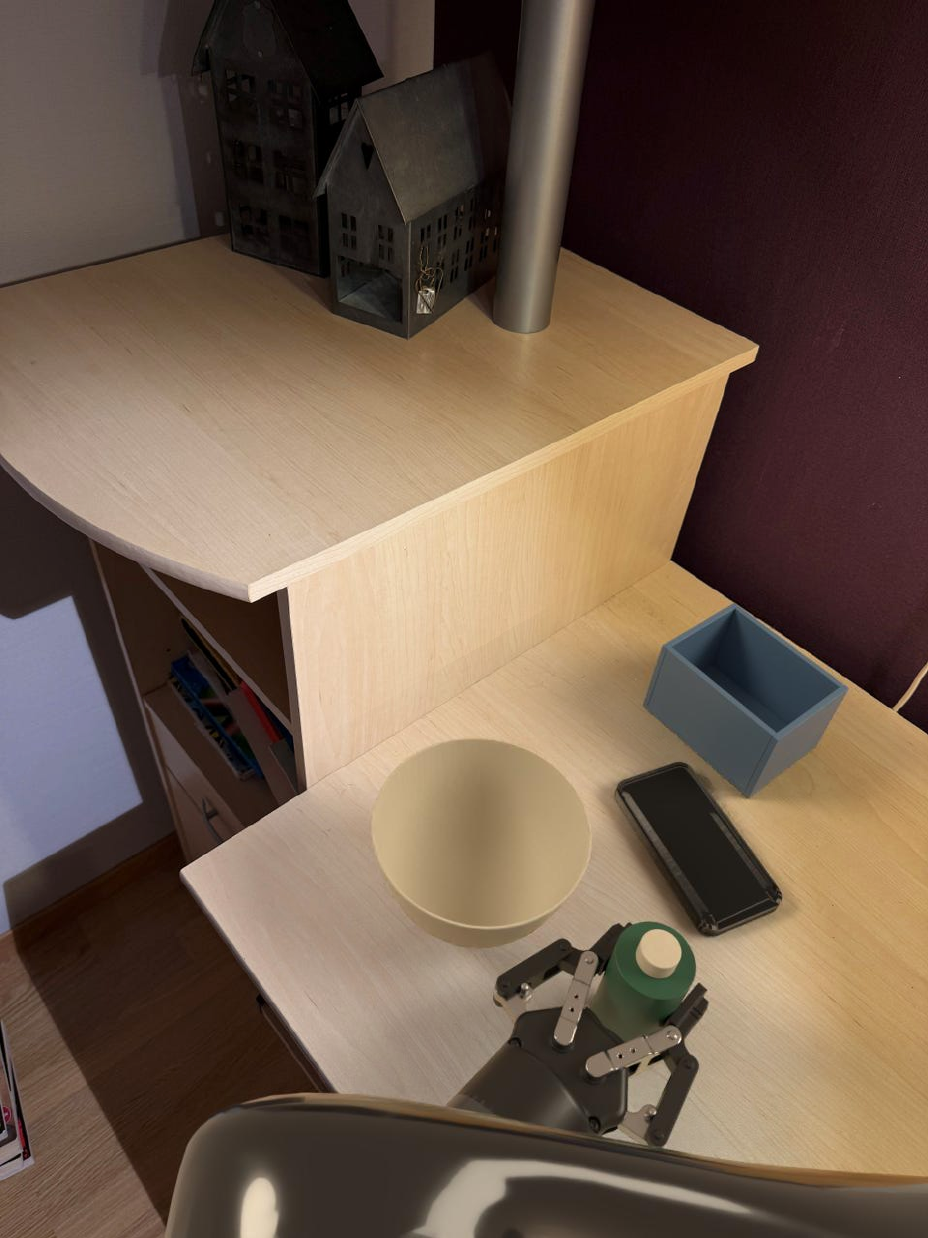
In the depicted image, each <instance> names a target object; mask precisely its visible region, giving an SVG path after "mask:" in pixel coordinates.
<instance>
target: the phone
mask: <svg viewBox="0 0 928 1238" xmlns="http://www.w3.org/2000/svg"><path fill="white" fill-rule="evenodd" d="M614 799H615V802H616V803H617V805H618V807H619V808H620V810H621V811H622V812H623V815H624V816H625V817H626V819H627V821H628V822H629V824H630V826H631V827H632V829H633V830H634V832H635V833H636V835H637V837H638V838H639V839H640V841H641V842H642V844H643V845H644V847H645V849H646V851H647V852H648V854H649V856H650V857H651V858H652V860H653V861H654V863H655V865H656V866H657V868H658V870H659V871H660V873H661V874H662V876H663V877H664V879H665V880H666V883H668V885H669V887H670V888H671V890H672V891H673V893H674V894H675V896H676V898H677V899H678V901H679V902H680V904H681V906H682V908H683V909H684V911H685V912H686V914H687V915H688V917H689V918H690V920H691V921H692V923H693V924H694V926H695V928H696V929H697V930H698V931H699V932H700V933H701V934H702V935H704V936H706V937H711V938H713V937H718V936H720V935H723V934H725V933H727V932H729V931H733V930H734V929H737V928H739V927H742V926H744V925H746V924H749V923H752V922H753V921H756V920H758V919H761V918H763V917H765V916H767V915H770V914H773V913H774V912H776V911H777V909H778V908H779V906H780V905H781V903H782V901H783V897H784V896H783V892H782V890H781V888H780V887H779V886H778V884H777V883H776V882H775V880H774V878H772V876H771V875H770V873H769V872H768V871H767V869H766V868H765V866H764V865H763V863H762V862H761V860H759V858H758V857H757V855H756V854H755V853H754V851H753V850H752V849H751V847H750V846H749V844H748V843H747V842H746V840H745V839H744V837H743V836H742V834H741V833H740V832H739V830H738V829H737V828H736V826H735V825H734V824H733V822H732V821H731V820H730V818H729V817H728V815H727V814H726V813H725V811H724V810H723V808H722V807H721V806H720V805H719V803H718V802H717V800H716V798H714V796H713V795H712V793H711V792H710V791H709V789H708V788H707V786H706V785H705V783H704V782H703V781H702V779H701V778H700V776H699V775H698V774H697V773H696V771H695V769H694V768H693V767H692V766H691V765H690V764H688V763H686V762H683V761H675V762H671V763H669V764H666V765H663V766H660V767H657V768H654V769H651V770H649V771H645V772H642V773H639V774H637V775H633V776H631V777H630V776H629V777H628V778H627V777H626V778H624V779H622V780H620V781H619V782H618V783H617V786H616V789H615V792H614Z"/></svg>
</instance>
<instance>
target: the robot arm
mask: <svg viewBox="0 0 928 1238" xmlns="http://www.w3.org/2000/svg"><path fill="white" fill-rule="evenodd" d="M633 924H634V923H632V922H631V921H628V922H627V923H626V924H625V925H622V924H621V923H620V922H617V923H614V924H613V925H611V926H610V927H609V929H607V931H605V932H604V934H603V935H602V936H601V937H600V938H598V940H597V941H596V942H595V943H594V944H593V945H592V946H591V947H590V948H588V949H585V950H584V949H583V950H582V949H578V948H577V947H574V946H573V945H572V943H571V942H570V941H569V940H568V939H566V938H562V937H561V938H559V939H557V940H554V941H553V942H552V943H550V944H549V945H547V946H546V947H544V948H542V949H540V950H539V951H537V952H535V953H534V954H532V955H531V956H529V957H528V958H526V959H524V960H522V961H521V962H520V963H518V964H516V965H515V966H513V967H511V968H510V969H508V970H506V971H504V972H503V973H502V974H499V975H498V977H497V979H496V981H495V985H494V988H493V993H492V994H493V995H492V1001H493V1004H494V1005H495V1006H496V1007H498V1008H501V1009H502V1008H503V1009H504V1011H505V1013H507V1015H508V1017H509V1018H510V1020H511V1021H512V1023H513V1024H514V1025H513V1029H512V1032H511V1035H510V1037H509V1038H507V1039H508V1040H506V1041H505V1043H504V1044H502V1046H501V1047H500V1048H499V1049H498V1050H496V1052H495V1053H494V1054H493V1055H492V1056H491V1057H490V1059H489V1060H487V1062H486V1063H484V1065H483V1066H482V1067H481V1068H480V1069H479V1070H478V1071H477V1072H476V1073H475V1074H474V1075H473V1076H472V1077H471V1078H470V1079H469V1080H468V1082H466V1083H465V1085H464V1086H463V1087H462V1088H461V1089H460V1090H459V1091H458V1092H457V1093H456V1094H455V1095H454V1096H453V1097H452V1098H451V1099H450V1100H449V1101H448V1102H447V1103H446V1105H438V1104H433V1103H426V1102H421V1101H415V1100H408V1099H402V1098H395V1097H387V1096H377V1095H370V1094H358V1093H332V1092H297V1093H284V1094H272V1095H266V1096H262V1097H256V1098H253V1099H247V1100H243V1101H240V1102H237V1103H234V1104H231V1105H229V1106H226V1107H224V1108H223V1109H221V1110H219V1111H217V1112H216V1113H214V1114H213V1115H212V1116H210V1117H209V1118H208V1119H206V1121H204V1122H203V1123H202V1124H200V1125H199V1126H198V1127H197V1129H196V1130H195V1131H194V1133H193V1134H191V1137H190V1138H189V1140H188V1142H187V1145H186V1146H185V1150H184V1153H183V1155H182V1160H181V1162H180V1165H179V1168H178V1169H179V1170H178V1173H177V1176H176V1181H175V1184H174V1189H173V1193H172V1198H171V1203H170V1208H169V1213H168V1218H167V1223H166V1228H165V1232H164V1233H165V1234H164V1237H163V1238H928V1176H926V1175H925V1176H924V1175H909V1174H896V1173H895V1174H894V1173H878V1172H877V1173H876V1172H862V1171H849V1170H848V1171H847V1170H835V1169H821V1168H810V1167H799V1166H798V1167H796V1166H785V1165H774V1164H766V1163H758V1162H749V1161H741V1160H732V1159H727V1158H720V1157H713V1156H707V1155H702V1154H695V1153H691V1152H685V1151H680V1150H675V1149H669V1148H664V1147H665V1146H666V1144H667V1143H668V1142H669V1139H670V1137H671V1134H672V1132H673V1131H674V1127H675V1125H676V1123H677V1120H678V1118H679V1116H680V1113H681V1112H682V1109H683V1106H684V1104H685V1102H686V1100H687V1097H688V1095H689V1092H690V1091H691V1088H692V1086H693V1084H694V1082H695V1079H696V1076H697V1074H698V1072H699V1070H700V1062H699V1061H698V1059H697V1058H696V1056H694V1055H693V1054H691V1053H690V1051H689V1049H688V1048H687V1047H686V1038H687V1037H688V1036H689V1034H690V1033H691V1031H693V1029H694V1028H695V1027H696V1026H697V1024H698V1023H699V1022H700V1021H701V1020H702V1018H703V1017H704V1015H705V1014H706V1012H707V1010H708V1007H709V1000H708V999H707V998H705V995H706V993H707V992H708V989H707V987H705V986H704V985H703V984H702V983H700V982H697V984H696V985H695V986H694V987H693V988H692V990H690V992H689V993H687V994H688V995H686V996H685V998H684V999H683V1001H682V1003H681V1004H680V1006H679V1007H678V1008H677V1009H676V1010H675V1011H674V1012H673V1014H672V1015H671V1016H670V1017H669V1018H668V1020H667V1022H666V1023H665V1025H664V1027H663V1028H662V1029H659V1030H657V1031H655V1032H653V1033H650V1034H648V1035H646V1036H644V1035H641V1036H639V1037H636V1038H634V1039H632V1040H630V1041H627V1042H624V1041H623V1040H622V1039H621V1038H620V1037H619V1036H618V1035H617V1034H616V1033H614V1032H612V1031H611V1030H609V1029H607V1028H606V1027H604V1026H603V1025H602V1023H601V1022H600V1020H599V1019H598V1017H597V1016H596V1014H595V1013H594V1012H592V1011H591V1010H590V1009H589V1008H590V1007H588V1006H585V1004H586V1001H587V998H588V996H589V992H590V990H591V986H592V983H593V980H594V978H595V977H596V975H597V976H599V977H601V976H603V974H604V972H605V969H606V967H607V965H608V962H609V960H610V957H611V955H612V953H613V950H614V948H615V945H616V943H617V941H618V938H619V937H620V935H621V934H622V932H623V931H624V930H625V929H626V928H628V927H629V926H631V925H633ZM561 972H564V973H566V974H568V975H571V976H573V977H572V979H571V983H570V986H569V988H568V991H567V994H566V997H565V1000H564V1002H563V1005H562V1006H561V1005H560V1006H554V1007H547V1008H540V1009H533V1010H528V1009H527V1005H528V1004H529V1003H530V1002H531V999H532V996H533V991H534V990H535V989H536V988H539V987H540V986H541V985H542V984H544V983H546V982H547V981H549V980H550V979H552V978H554V977H556V976H557V975H558V974H560V973H561ZM662 1062H663V1063H664V1065H665V1066H666V1068H667V1069H668V1071H669V1073H670V1075H669V1077H668V1079H667V1081H666V1083H665V1085H664V1088H663V1090H662V1092H661V1095H660V1097H659V1099H658V1100H657V1103H656V1106H655V1105H653V1104H650V1103H647V1104H644V1105H643V1106H642V1107H641V1108H640V1110H638V1111H636V1112H631V1111H629V1110H628V1109H629V1108H628V1107H629V1080H630V1079H632V1078H634V1077H637V1076H639V1075H641V1074H642V1073H643V1072H645V1071H646V1070H647V1069H650V1068H652V1067H654V1066H656V1065H658V1064H660V1063H662ZM617 1130H619V1131H620V1132H621V1133H623V1134H625V1135H626V1136H628V1138H630V1139H632V1140H633V1141H635V1142H632V1141H627V1140H622V1139H618V1138H613V1137H607V1136H604V1135H606V1134H609V1133H613V1132H616V1131H617Z"/></svg>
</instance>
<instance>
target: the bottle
mask: <svg viewBox="0 0 928 1238" xmlns="http://www.w3.org/2000/svg"><path fill="white" fill-rule="evenodd" d="M632 924H633V925H631V926H629V927H628V928H626V929H625V930H624V931H623V932H622V934H621V935H620V937H619V938H618V941H617V943H616V945H615V948H614V950H613V953H612V955H611V957H610V960H609V962H608V965H607V967H606V969H605V971H604V972H603V974H602V977H601V979H600V982H599V984H598V986H597V989H596V991H595V993H594V995H593V999H592V1001H591V1003H590V1005H589V1007H588V1008H589V1009H590V1010H591V1011H592V1012H594V1013H595V1014H596V1016H597V1017H598V1019H599V1020H600V1022H601V1023H602V1025H603V1026H604V1027H606V1028H607V1029H609V1030H611V1031H612V1032H614V1033H616V1034H617V1035H618V1036H619V1037H620V1038H621V1039H622V1040H623V1041H624V1042H627V1041H630V1040H632V1039H634V1038H636V1037H639V1036H641V1035H644V1036H646V1035H648V1034H650V1033H653V1032H655V1031H657V1030H659V1029H662V1028H663V1027H664V1025H665V1023H666V1022H667V1020H668V1018H669V1017H670V1016H671V1015H672V1014H673V1012H674V1011H675V1010H676V1009H677V1008H678V1007H679V1006H680V1004H681V1003H682V1002H683V1000H684V999H685V998H686V997H687V994H688V992H689V991H690V989H691V987H692V985H693V983H694V981H695V979H696V975H697V961H696V957H695V953H694V952H693V949H692V947H691V946H690V944H689V942H688V941H687V939H686V938H685V937H684V936H683V935H682V934H681V933H680V932H678V931H677V930H676V929H674V928H672V927H671V926H669V925H667V924H664V923H661V922H658V921H651V920H646V921H639V922H636V923H632Z"/></svg>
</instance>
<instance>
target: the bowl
mask: <svg viewBox="0 0 928 1238" xmlns="http://www.w3.org/2000/svg"><path fill="white" fill-rule="evenodd" d="M370 823H371V825H370V832H371V833H370V834H371V835H370V837H371V842H372V848H373V851H374V856H375V858H376V862H377V864H378V867H379V869H380V871H381V873H382V876H383V878H384V880H385V882H386V885H387V886H388V889H389V891H390V893H391V894H392V896H393V898H394V900H395V901H396V903H397V904H398V906H399V907H400V908H401V910H402V911H403V912H404V914H405V915H406V916H407V917H408V918H409V919H410V920H411V921H412V922H413V923H414V924H415V925H416V926H418V927H419V928H420V929H422V930H423V931H424V932H426V933H427V934H428V935H430V936H432V937H434V938H436V939H438V940H440V941H441V942H442V941H443V942H445V943H448V944H451V945H455V946H458V947H464V948H469V949H470V948H471V949H489V948H496V947H503V946H505V945H508V944H511V943H515V942H517V941H520V940H521V939H523V938H525V937H527V936H528V935H530V934H532V933H533V932H535V931H536V930H538V929H539V928H541V926H543V925H544V924H545V923H546V922H547V921H548V920H549V919H551V918H552V917H553V916H554V914H555V913H556V912H558V910H559V909H560V908H561V907H562V906H563V905H564V904H565V903H566V902H567V901H568V899H569V898H570V897H571V896H572V895H573V893H574V892H575V891H576V889H577V888H578V886H579V885H580V884H581V881H582V880H583V878H584V875H585V873H586V872H587V868H588V866H589V862H590V859H591V853H592V845H593V843H592V842H593V835H592V826H591V820H590V816H589V812H588V810H587V807H586V805H585V803H584V800H583V799H582V796H581V795H580V793H579V791H578V790H577V789H576V787H575V785H574V784H573V782H571V780H570V779H569V778H568V777H567V776H566V774H565V773H563V771H561V770H560V768H559V767H557V766H556V765H555V764H554V763H552V762H551V761H549V760H548V759H547V758H546V757H544V756H542V755H540V754H539V753H537V752H535V751H534V750H532V749H529V748H528V747H525V746H522V745H520V744H517V743H514V742H511V741H507V740H503V739H499V738H493V737H480V736H476V737H475V736H474V737H473V736H471V737H470V736H469V737H467V736H466V737H458V738H452V739H448V740H443V741H439V742H436V743H433V744H431V745H428V746H426V747H424V748H421V749H420V750H418V751H416V752H415V753H413V754H411V755H410V756H408V757H407V758H405V760H404V761H402V762H400V764H399V765H398V766H397V767H396V768H395V769H394V770H393V771H391V773H390V774H389V776H388V777H387V778H386V780H385V781H384V783H383V784H382V785H381V787H380V790H379V792H378V794H377V796H376V799H375V802H374V805H373V808H372V813H371V821H370Z"/></svg>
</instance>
